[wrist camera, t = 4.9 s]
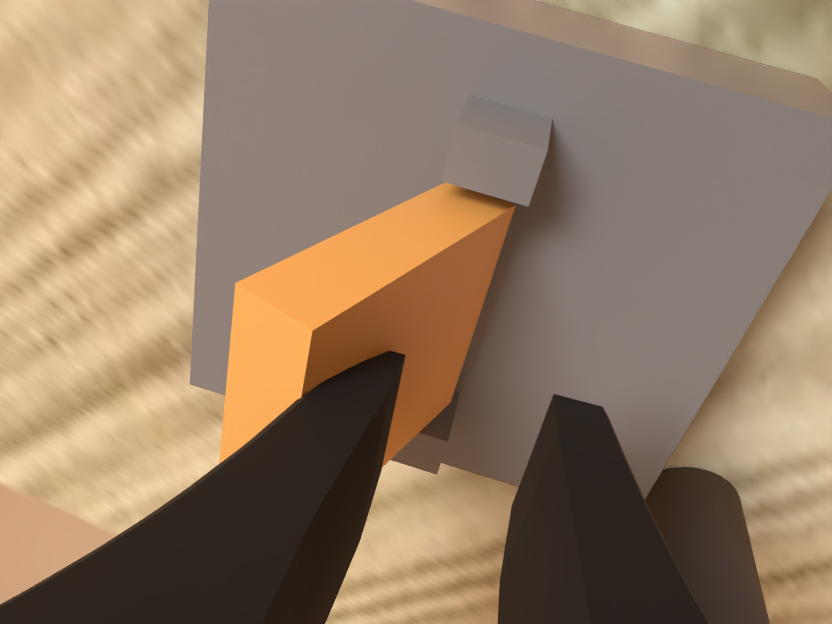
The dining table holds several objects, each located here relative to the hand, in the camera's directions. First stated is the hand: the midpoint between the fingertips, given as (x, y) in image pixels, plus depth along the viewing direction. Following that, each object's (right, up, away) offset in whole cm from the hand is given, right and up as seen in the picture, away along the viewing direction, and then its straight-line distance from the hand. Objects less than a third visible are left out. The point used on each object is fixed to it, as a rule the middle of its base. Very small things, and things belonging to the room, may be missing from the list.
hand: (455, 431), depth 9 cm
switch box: (+1, +3, +5) cm, 6 cm away
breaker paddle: (0, +2, +2) cm, 3 cm away
